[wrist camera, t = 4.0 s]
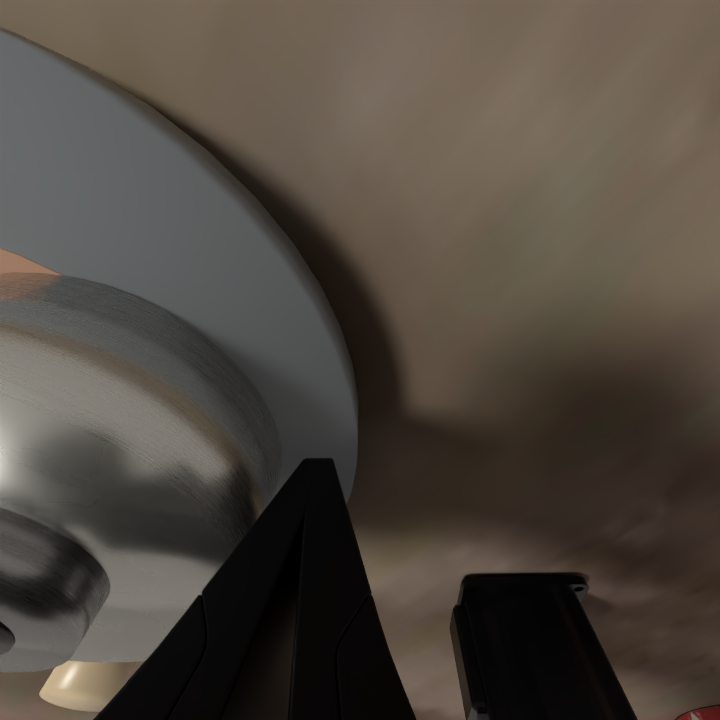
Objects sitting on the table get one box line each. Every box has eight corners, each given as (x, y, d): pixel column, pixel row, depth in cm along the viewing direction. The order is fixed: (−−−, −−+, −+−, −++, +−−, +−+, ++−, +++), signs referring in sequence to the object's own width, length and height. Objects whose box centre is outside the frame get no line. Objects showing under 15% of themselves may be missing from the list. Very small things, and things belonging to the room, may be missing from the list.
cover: (235, 259, 7) (55, 378, 3) (304, 537, 12) (273, 720, 8) (-199, 284, 7) (-857, 417, 3) (44, 542, 12) (-107, 716, 8)
